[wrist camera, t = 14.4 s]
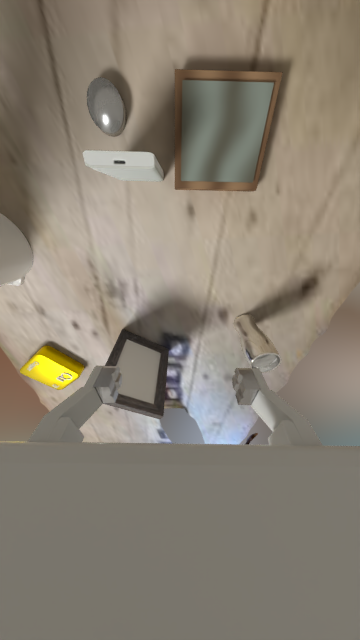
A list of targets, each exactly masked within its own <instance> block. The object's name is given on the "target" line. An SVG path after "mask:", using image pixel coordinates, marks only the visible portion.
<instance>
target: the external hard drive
mask: <svg viewBox="0 0 360 640" xmlns="http://www.w3.org/2000/svg"><path fill="white" fill-rule="evenodd" d="M83 157H84V161H85V165H86V166H88V167H90V168H92V169H94V170H96V171H99V172H101V173H104V174H106V175H109V176H112V177H114V178H117V179H119V180H130V181H163V180H164V172H163V170H162V168H161V166H160V164H159V162H158V161H157V159H156V157H155V155H154V154H153V153H151V152H133V151H98V150H86V151H84V152H83Z"/></svg>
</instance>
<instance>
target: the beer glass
mask: <svg viewBox="0 0 360 640" xmlns="http://www.w3.org/2000/svg"><path fill="white" fill-rule="evenodd" d="M233 326H234V328H235V330H236V331H237V332H238V334H239V338H240V344H241V348H242V351H243V354H244V356H245V358H246V360H247V362H248V364H249V366H250V368H258V369H259V370H260V371H261V373H266V372H270V371H272V370H274V369H276V368H277V367H278V366H279V365H280V364H281V357H280V355H279V353H278V351H277V350H276V348H275V346H274V344H273V343H272V341H271V340H270V339H269V338H268V336H267V335H266V334H265V333H264V332H263V331H262V330H260V329H259V328H258V326H257V325H256V322H255V319H254V317H253V316H251V315H249V314H243V315H240V316H238V317H237V318H236V319H235V320H234V323H233Z"/></svg>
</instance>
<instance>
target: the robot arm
mask: <svg viewBox="0 0 360 640" xmlns="http://www.w3.org/2000/svg"><path fill="white" fill-rule="evenodd" d="M32 266H33V253H32V250H31V247H30V245H29V243H28V241H27V239H26V238H25V236H24V235H23V233H22V232H21V231H20V230H19V229H18V228H17V226H16V225H15V224H14V223H13V222H11V221H10V220H9V219H8V218H7V217H5V216H4V215H2V214H1V213H0V286H3V285H5V284H10V285H16V286H19V285H22V284H23V283H24V279H25V275H26V274H27V273H28V272H29V271H30V270H31V268H32ZM119 371H120V368H119V366H96V367H95V368H94V369H93V371H92V373H91V375H90V377H89V379H88V380H87V382H86V384H85V386H84V387H81V388H80V389H79V390H77V391H76V392H75V393H73V394H72V395H71V396H70V397H68V398H67V399H66V400H64V401H63V402H62V403H60V404H59V405H58V406H57V407H55V408H54V409H53V410H51V411H50V412H49V413H47V414H46V415H45V416H44V417H43V419H42V420H41V422H40V423H39V425H38V426H37V428H36V429H35V431H34V432H33V434H32V435H31V437H30V439H29V440H28V442H11V441H0V640H360V446H323V445H322V444H321V442H320V440H319V439H318V437H317V435H316V434H315V432H314V430H313V429H312V427H311V425H310V423H309V422H308V420H307V419H306V418H304V417H303V416H302V415H301V414H300V413H298V412H297V411H296V410H295V409H294V408H292V407H291V406H290V405H289V404H288V403H287V402H285V401H284V400H283V399H282V398H280V397H279V396H278V395H277V394H276V393H275V392H273V391H272V390H269V388H268V386H267V384H266V381H265V379H264V377H263V375H262V373H261V371H260V370H259V369H258V368H236V369H235V375H233V379H232V383H233V388H234V390H235V391H236V392H237V393H236V398H237V402H238V405H251V407H252V408H253V409H254V410H255V411H256V412H257V414H258V415H259V416H260V417H261V418H262V419H263V421H264V422H265V423H266V424H267V425H268V426H269V428H270V429H271V430H272V431H273V433H272V434H271V435H270V437H269V438H268V441H269V444H270V445H232V444H160V443H87V442H82V441H83V438H84V436H83V434H82V433H81V431H80V430H79V428H80V427H81V426H82V425H83V424H84V423H85V422H86V421H87V420H88V419H89V418H90V417H91V416H92V414H93V413H94V412H95V411H96V410H97V409H98V408H99V407H100V406H101V405H102V403H115V402H116V399H117V396H118V391H117V390H118V389H119V388H120V387H121V384H122V374H121V373H120V372H119Z"/></svg>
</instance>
